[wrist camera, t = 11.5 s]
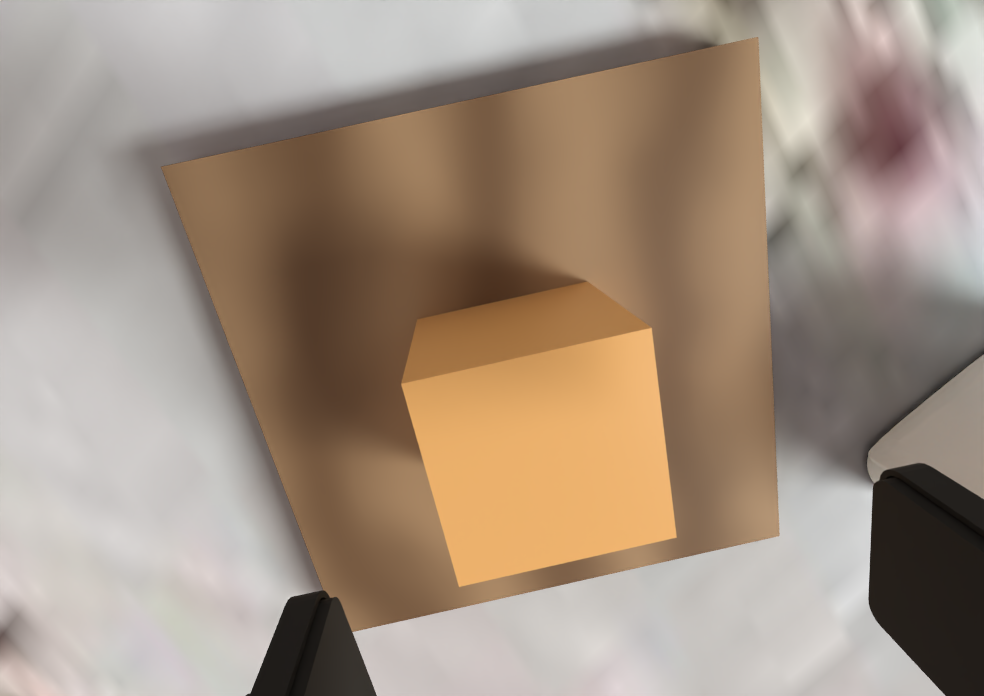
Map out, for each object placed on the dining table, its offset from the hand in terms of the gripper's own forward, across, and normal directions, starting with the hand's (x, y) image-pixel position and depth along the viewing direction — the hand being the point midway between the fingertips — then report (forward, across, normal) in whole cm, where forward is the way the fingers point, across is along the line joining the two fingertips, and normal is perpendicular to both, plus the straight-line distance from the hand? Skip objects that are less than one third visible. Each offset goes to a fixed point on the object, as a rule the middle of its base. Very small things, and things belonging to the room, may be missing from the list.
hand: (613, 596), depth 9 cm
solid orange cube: (+12, 0, +1) cm, 12 cm away
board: (+14, 0, +1) cm, 14 cm away
